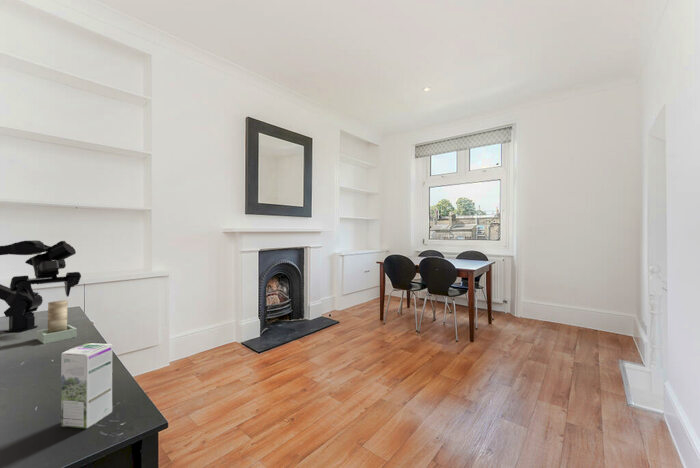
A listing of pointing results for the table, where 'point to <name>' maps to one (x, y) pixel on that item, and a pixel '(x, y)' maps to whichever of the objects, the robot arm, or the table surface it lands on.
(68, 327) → the sage collar
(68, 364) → the syrup box
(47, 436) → the table surface
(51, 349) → the table surface
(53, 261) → the robot arm
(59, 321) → the maple dowel
